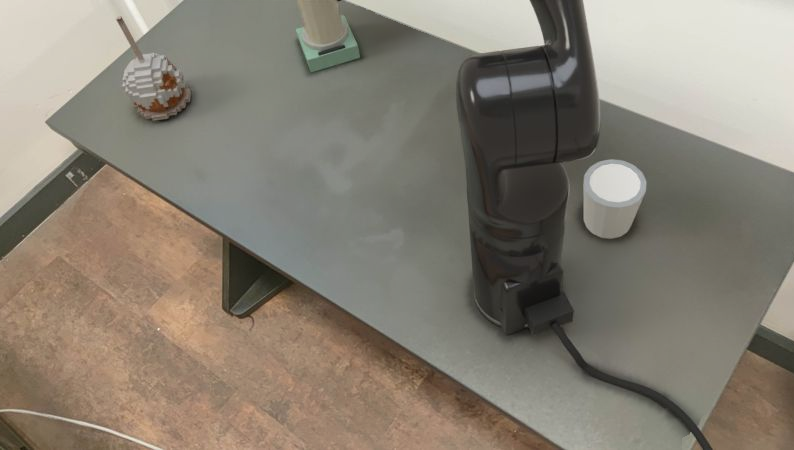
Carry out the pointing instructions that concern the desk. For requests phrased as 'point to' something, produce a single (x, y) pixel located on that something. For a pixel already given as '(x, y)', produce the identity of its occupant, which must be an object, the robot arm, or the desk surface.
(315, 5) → the cup
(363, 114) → the desk surface
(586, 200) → the white cylinder
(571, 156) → the robot arm
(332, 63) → the scale
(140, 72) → the voxel caramel apple
